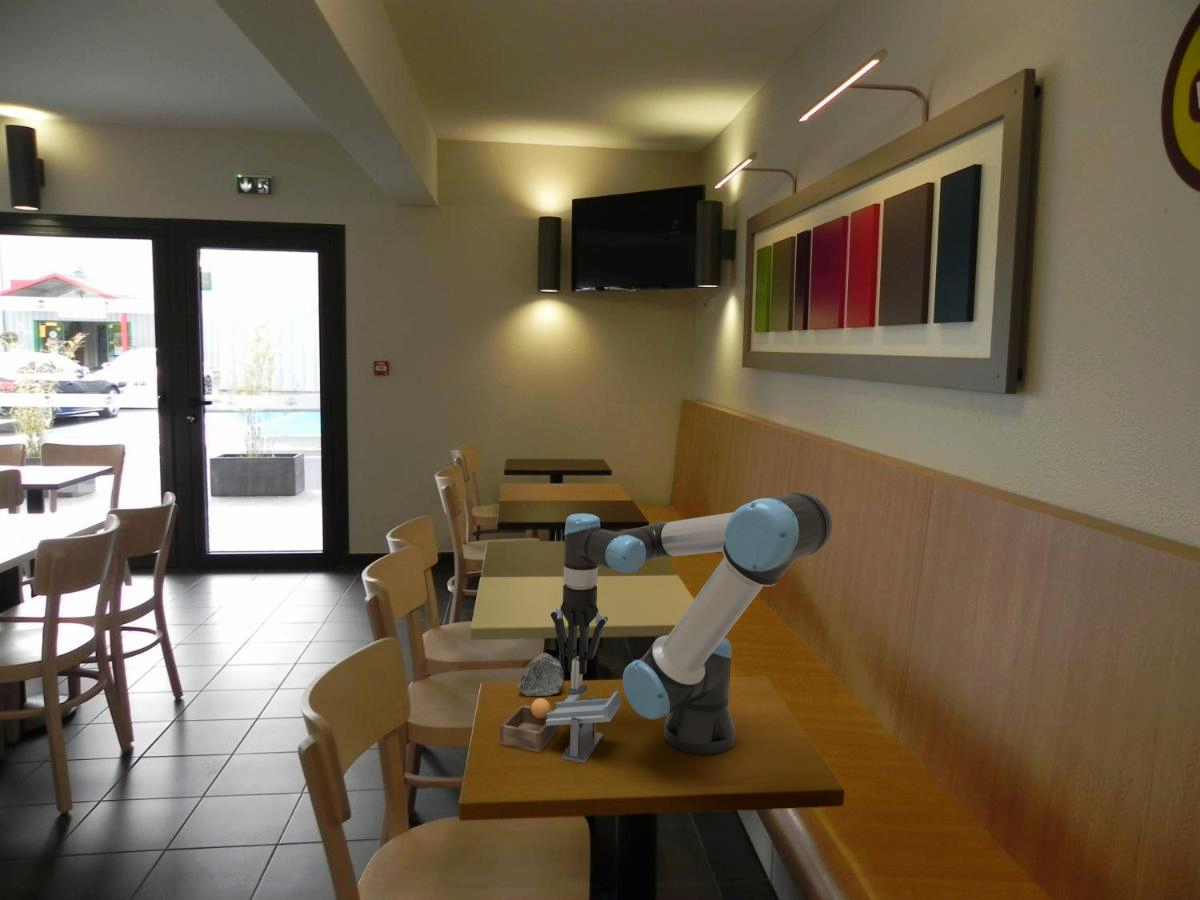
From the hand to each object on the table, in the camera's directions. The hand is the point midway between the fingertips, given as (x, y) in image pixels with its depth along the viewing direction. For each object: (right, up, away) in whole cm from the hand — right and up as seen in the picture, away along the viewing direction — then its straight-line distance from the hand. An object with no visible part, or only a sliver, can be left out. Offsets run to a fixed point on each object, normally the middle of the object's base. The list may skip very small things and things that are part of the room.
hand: (576, 686), depth 175 cm
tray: (-10, -8, -8) cm, 15 cm away
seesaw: (+3, -2, -8) cm, 9 cm away
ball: (-7, -4, -10) cm, 12 cm away
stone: (-8, -6, +15) cm, 18 cm away
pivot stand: (+2, -9, -12) cm, 15 cm away
